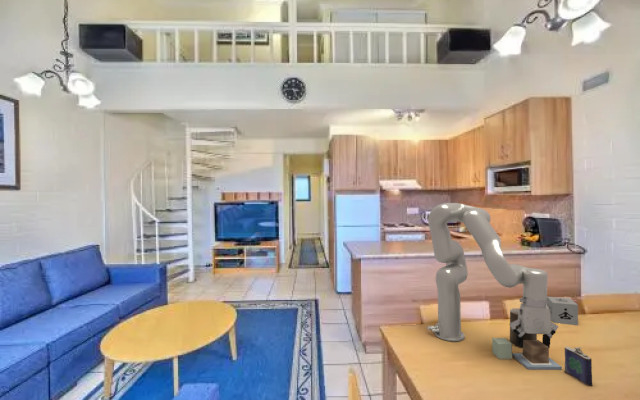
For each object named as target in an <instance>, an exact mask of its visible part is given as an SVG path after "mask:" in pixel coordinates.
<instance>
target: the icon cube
mask: <svg viewBox="0 0 640 400" xmlns="http://www.w3.org/2000/svg"><path fill="white" fill-rule="evenodd" d="M547 306H548V307H549V310H550V316H551V322H552V323H554V324H559V323H560V324H561V325H568V326H569V325H570V326H571V325H572V326H579V304H578V303H576V301H574V300H573V299H572V298H569V297H568V298H567V297H558V296H557V297H555V296H547Z"/></svg>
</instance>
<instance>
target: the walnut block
mask: <svg viewBox="0 0 640 400" xmlns="http://www.w3.org/2000/svg"><path fill="white" fill-rule="evenodd" d="M522 353H523V356H524V357H525V358H526V359H528V360H529V361H530V362H531V363H549V358H550V348H549V347H548V346H546V345H545V344H543V343H542V341H541V340H539V339H537V340H523V348H522Z"/></svg>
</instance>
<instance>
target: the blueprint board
mask: <svg viewBox="0 0 640 400" xmlns="http://www.w3.org/2000/svg"><path fill="white" fill-rule="evenodd" d="M512 358H514V359H515V360H516V361H518V362H519V364H521V365H522V366H523V367H524V368H525V369H527V370H545V371H546V370H547V371H548V370H552V371H553V370H555V371H556V370H558V371H559V370H563V369H562V368H563V367H562V365H560V364H558V362H555V360H553V359H552V358H551V357H549V363H531V362H530V361H529V360H528V359H526V358H525V357H524V356H523V352H512Z"/></svg>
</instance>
